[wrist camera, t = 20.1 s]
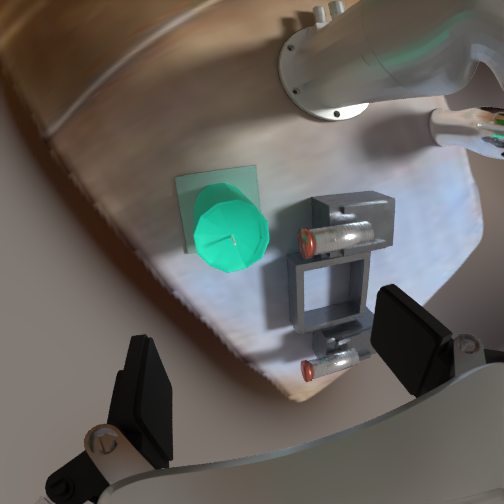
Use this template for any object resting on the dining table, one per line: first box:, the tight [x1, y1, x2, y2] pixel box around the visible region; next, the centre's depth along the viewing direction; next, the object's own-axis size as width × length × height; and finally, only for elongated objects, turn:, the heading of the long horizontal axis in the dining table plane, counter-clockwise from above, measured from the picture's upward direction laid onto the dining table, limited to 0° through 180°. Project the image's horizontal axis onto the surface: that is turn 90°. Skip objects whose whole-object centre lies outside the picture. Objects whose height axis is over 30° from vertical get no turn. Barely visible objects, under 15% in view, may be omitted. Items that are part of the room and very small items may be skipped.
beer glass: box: [429, 107, 504, 160], centre depth 26 cm, size 7×7×15 cm
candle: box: [194, 182, 270, 273], centre depth 26 cm, size 6×6×12 cm
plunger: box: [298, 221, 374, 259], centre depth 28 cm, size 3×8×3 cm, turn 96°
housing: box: [287, 191, 395, 361], centre depth 36 cm, size 24×13×6 cm, turn 6°
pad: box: [175, 165, 261, 254], centre depth 32 cm, size 9×9×1 cm
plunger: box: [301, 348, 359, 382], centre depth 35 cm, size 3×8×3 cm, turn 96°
